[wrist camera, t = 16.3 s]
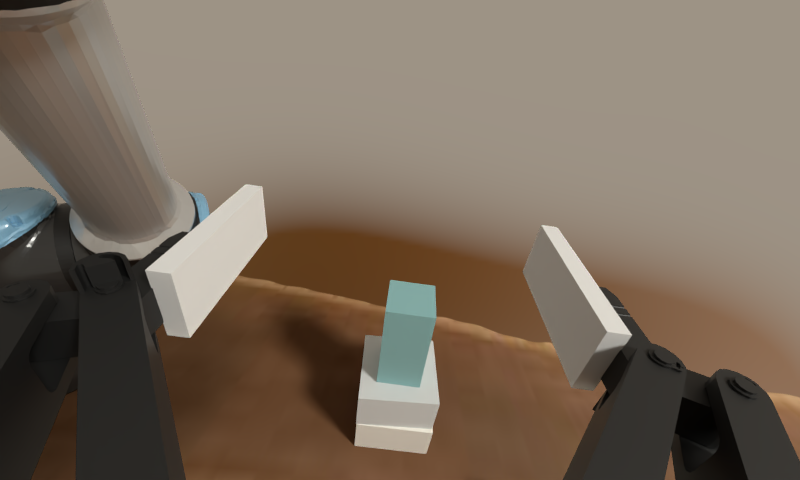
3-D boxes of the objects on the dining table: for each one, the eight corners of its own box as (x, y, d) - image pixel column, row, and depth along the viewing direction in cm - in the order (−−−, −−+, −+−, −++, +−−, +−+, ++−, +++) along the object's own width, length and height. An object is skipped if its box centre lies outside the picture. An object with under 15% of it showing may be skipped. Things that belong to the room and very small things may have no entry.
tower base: (354, 446, 42) (356, 424, 39) (364, 382, 50) (366, 360, 47) (425, 454, 42) (432, 433, 39) (424, 390, 50) (430, 368, 47)
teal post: (376, 381, 39) (385, 311, 33) (381, 347, 43) (390, 279, 37) (419, 387, 39) (436, 318, 33) (420, 352, 43) (435, 286, 37)
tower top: (355, 424, 39) (358, 398, 37) (363, 359, 47) (365, 335, 44) (431, 429, 40) (439, 404, 37) (426, 365, 48) (432, 340, 45)
